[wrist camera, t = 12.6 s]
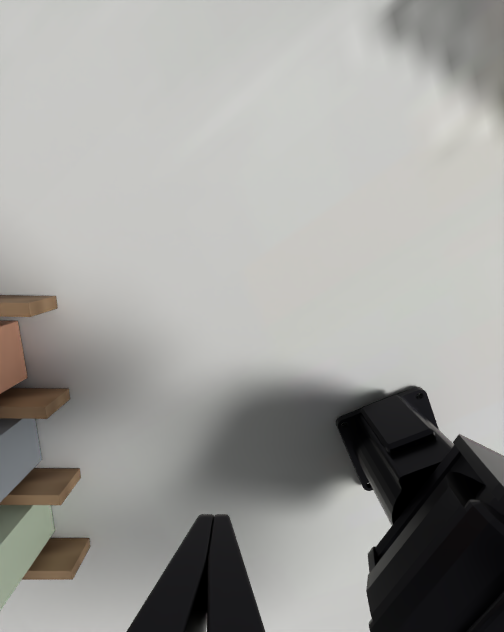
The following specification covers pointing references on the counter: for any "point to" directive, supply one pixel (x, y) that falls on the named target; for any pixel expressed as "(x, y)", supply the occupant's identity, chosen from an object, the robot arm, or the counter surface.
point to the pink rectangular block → (11, 356)
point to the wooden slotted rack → (42, 483)
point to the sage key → (21, 542)
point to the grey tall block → (17, 452)
